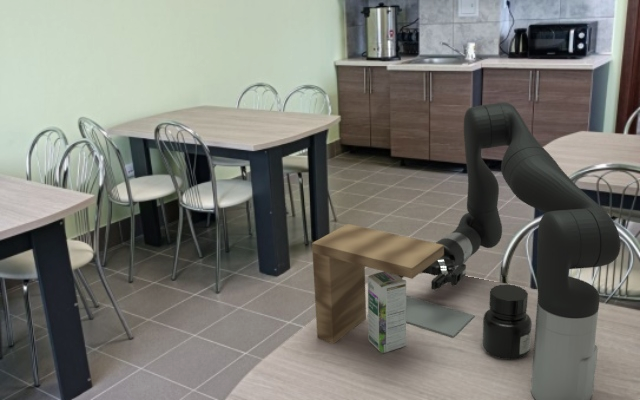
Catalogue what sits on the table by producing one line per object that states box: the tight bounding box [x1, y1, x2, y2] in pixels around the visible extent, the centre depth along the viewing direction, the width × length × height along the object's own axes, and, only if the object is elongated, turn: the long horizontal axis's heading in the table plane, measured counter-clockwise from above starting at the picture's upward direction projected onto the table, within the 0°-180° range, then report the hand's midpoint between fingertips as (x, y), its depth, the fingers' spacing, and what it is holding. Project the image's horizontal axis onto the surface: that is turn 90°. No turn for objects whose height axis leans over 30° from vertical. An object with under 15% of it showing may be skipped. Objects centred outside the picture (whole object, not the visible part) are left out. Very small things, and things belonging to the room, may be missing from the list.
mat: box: [406, 295, 476, 338], centre depth 134 cm, size 20×10×1 cm, turn 53°
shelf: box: [311, 223, 444, 344], centre depth 122 cm, size 22×12×21 cm, turn 53°
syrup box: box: [367, 271, 407, 354], centre depth 122 cm, size 6×6×14 cm
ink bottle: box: [481, 284, 533, 360], centre depth 118 cm, size 10×9×12 cm
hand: (414, 280), depth 129 cm, fingers open, 8 cm apart
